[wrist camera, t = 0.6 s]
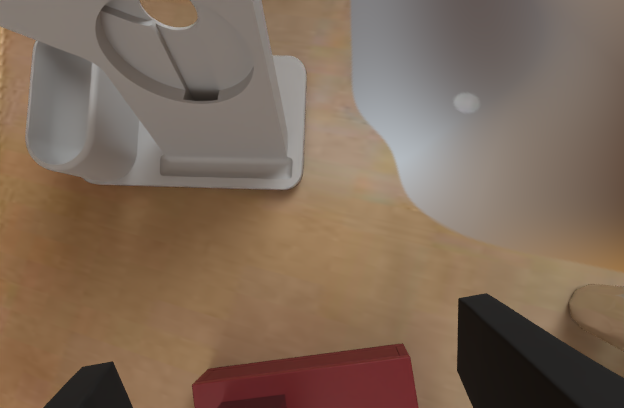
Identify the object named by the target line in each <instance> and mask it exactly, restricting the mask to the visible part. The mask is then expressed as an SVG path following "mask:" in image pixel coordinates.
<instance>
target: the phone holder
mask: <svg viewBox="0 0 624 408" xmlns="http://www.w3.org/2000/svg"><path fill="white" fill-rule="evenodd" d="M190 1H191V2H192V4H193V5H194V7H195V8H196V11H197V14H198V19H197V21H196V22H195V23H194V24H192V25H190V26H188V27H181V28H179V27H171V26H168V25H165V24H162V23H160V22H158V21H157V20H155V19H154V18H152V17H151V16H150V15H149V14H148V13H147V12H146V11H145V10H144V9H143V7H142V5H141V3H140V1H139V0H0V26H1V27H3V28H6V29H9V30H11V31H14V32H16V33H19V34H22V35H24V36H27V37H29V38H32V39H35V40H36V42H35V44H34V48H33V54H32V66H31V77H30V89H29V100H28V112H27V124H26V137H25V138H26V146H27V149H28V152H29V154H30V155H31V157H32V158H33V159H34V161H35V162H36V163H38V164H39V165H40V166H42V167H44V168H46V169H48V170H52V171H56V172H60V173H65V174H69V175H74V176H78V177H82V178H83V179H84V180H86V181H87V182H89V183H93V184H98V185H127V186H161V187H196V188H231V189H266V190H288V189H291V188H293V187H295V186H296V185H297V184H298V183H299V182H300V180H301V178H302V175H303V161H304V135H305V109H306V83H307V77H306V70H305V67H304V65H303V63H302V62H301V61H300V60H299V59H297V58H295V57H293V56H272V51H271V46H270V41H269V36H268V31H267V26H266V21H265V16H264V11H263V6H262V1H261V0H190Z"/></svg>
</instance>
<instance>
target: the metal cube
mask: <svg viewBox="0 0 624 408" xmlns="http://www.w3.org/2000/svg"><path fill="white" fill-rule="evenodd" d="M217 408H287V406H286V399H285V394H283V395H275V396H267V397H259V398H251V399H243V400H235V401H227V402H221V403H220V405H219V406H218V407H217Z"/></svg>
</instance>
